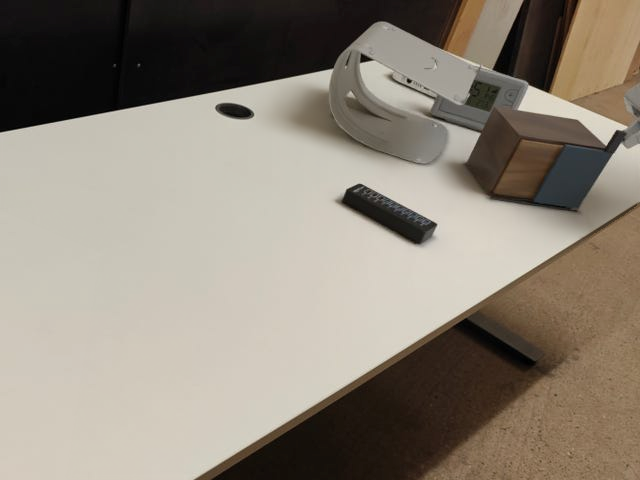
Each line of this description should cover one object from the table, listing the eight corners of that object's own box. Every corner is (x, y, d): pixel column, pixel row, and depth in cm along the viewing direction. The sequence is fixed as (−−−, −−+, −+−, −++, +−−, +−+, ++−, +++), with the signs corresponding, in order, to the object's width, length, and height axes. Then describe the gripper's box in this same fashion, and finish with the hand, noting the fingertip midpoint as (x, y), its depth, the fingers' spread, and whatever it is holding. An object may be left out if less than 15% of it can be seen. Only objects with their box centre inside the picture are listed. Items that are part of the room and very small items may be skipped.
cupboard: (576, 211, 118) (614, 153, 111) (491, 199, 117) (523, 139, 109) (545, 175, 128) (577, 119, 121) (466, 163, 127) (493, 106, 119)
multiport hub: (418, 245, 101) (425, 232, 99) (340, 202, 108) (345, 189, 106) (432, 236, 104) (438, 223, 102) (355, 195, 110) (359, 182, 109)
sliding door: (578, 209, 117) (627, 133, 108) (533, 202, 117) (578, 125, 107) (576, 206, 118) (624, 130, 109) (531, 199, 117) (575, 123, 108)
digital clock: (424, 114, 143) (446, 63, 135) (437, 105, 148) (459, 55, 141) (499, 143, 137) (525, 91, 130) (509, 131, 143) (535, 81, 136)
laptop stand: (346, 93, 146) (371, 16, 135) (454, 127, 140) (489, 50, 129) (313, 130, 128) (339, 45, 117) (435, 170, 122) (473, 85, 111)
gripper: (762, 136, 98) (657, 186, 104) (686, 85, 113) (598, 131, 119) (757, 101, 95) (649, 155, 101) (679, 53, 110) (589, 102, 116)
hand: (621, 141), depth 110 cm, fingers closed
